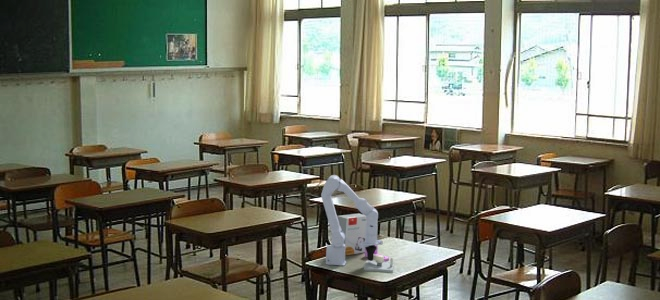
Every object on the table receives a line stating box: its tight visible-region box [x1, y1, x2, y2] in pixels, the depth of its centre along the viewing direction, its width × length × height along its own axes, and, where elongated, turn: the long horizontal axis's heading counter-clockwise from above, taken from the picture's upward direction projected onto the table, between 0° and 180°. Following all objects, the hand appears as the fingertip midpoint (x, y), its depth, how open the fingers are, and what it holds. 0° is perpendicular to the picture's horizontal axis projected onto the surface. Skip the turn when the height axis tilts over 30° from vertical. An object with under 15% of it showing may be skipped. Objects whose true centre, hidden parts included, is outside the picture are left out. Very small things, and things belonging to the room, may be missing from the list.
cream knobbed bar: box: [373, 254, 385, 263], centre depth 402 cm, size 10×4×3 cm, turn 36°
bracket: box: [364, 245, 390, 262], centre depth 417 cm, size 13×6×7 cm, turn 47°
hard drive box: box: [337, 213, 367, 256], centre depth 425 cm, size 16×8×20 cm, turn 129°
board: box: [363, 257, 395, 274], centre depth 399 cm, size 14×14×6 cm
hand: (370, 260), depth 403 cm, fingers closed, pressing on cream knobbed bar
